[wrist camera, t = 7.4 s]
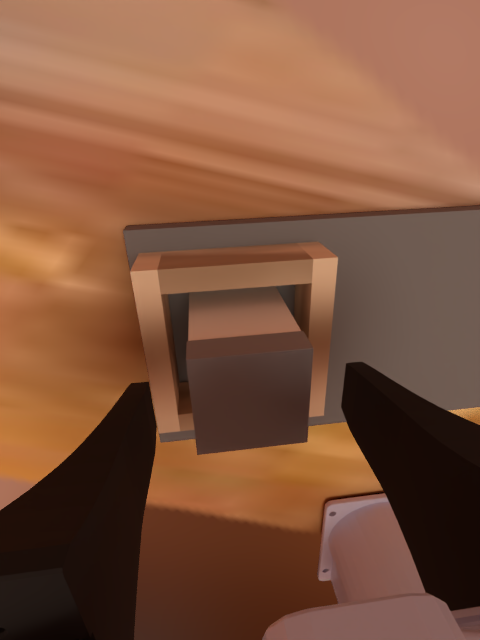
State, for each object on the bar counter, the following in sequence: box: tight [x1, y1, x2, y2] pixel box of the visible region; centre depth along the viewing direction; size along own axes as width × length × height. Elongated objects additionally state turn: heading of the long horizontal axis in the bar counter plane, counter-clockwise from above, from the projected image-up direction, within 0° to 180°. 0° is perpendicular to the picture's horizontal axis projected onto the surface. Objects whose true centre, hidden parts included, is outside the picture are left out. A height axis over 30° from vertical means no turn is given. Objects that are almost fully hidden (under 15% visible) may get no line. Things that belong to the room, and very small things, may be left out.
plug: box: [186, 286, 313, 455], centre depth 15 cm, size 4×4×6 cm
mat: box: [123, 205, 480, 442], centre depth 19 cm, size 12×22×1 cm, turn 92°
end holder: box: [130, 242, 338, 434], centre depth 17 cm, size 8×8×2 cm
